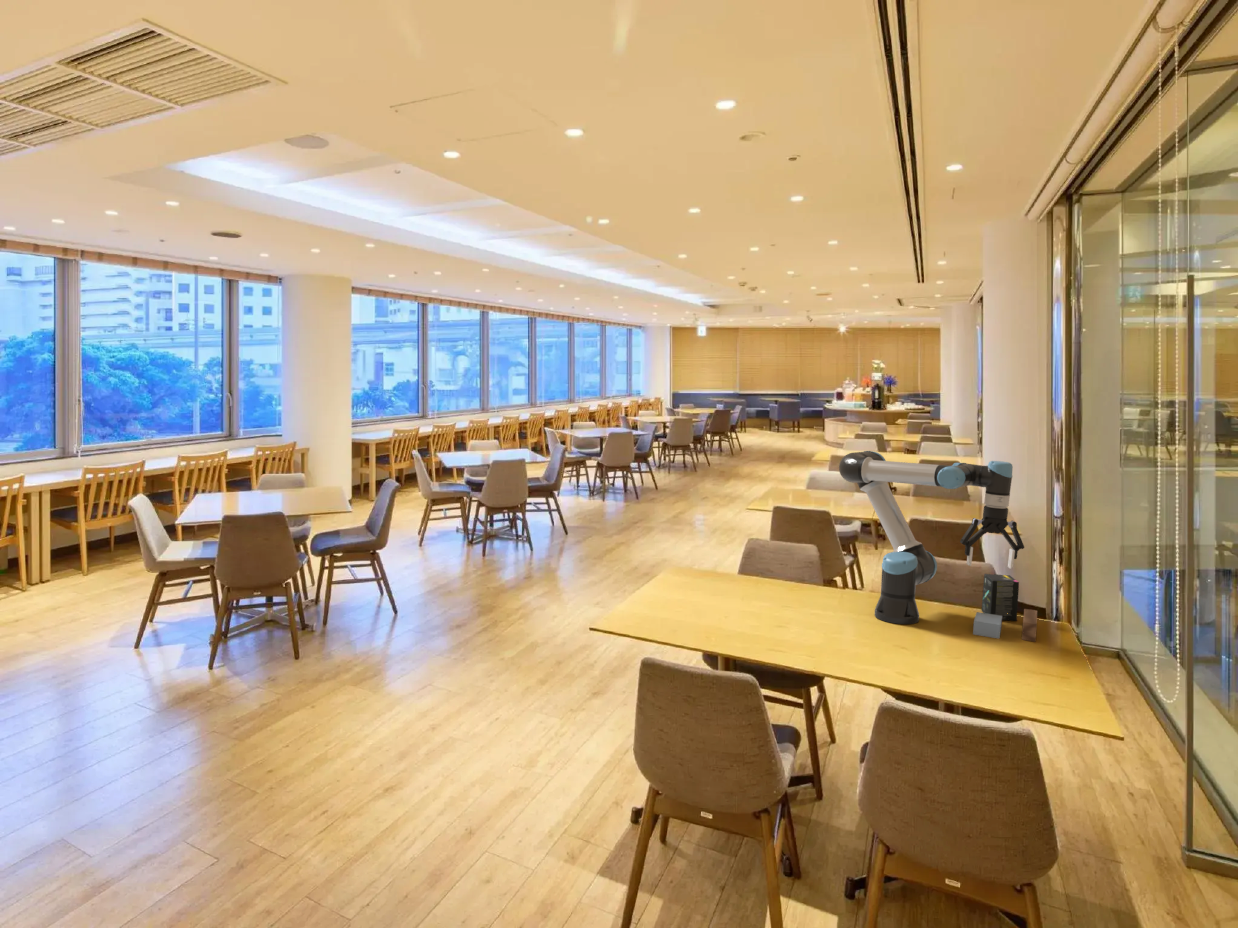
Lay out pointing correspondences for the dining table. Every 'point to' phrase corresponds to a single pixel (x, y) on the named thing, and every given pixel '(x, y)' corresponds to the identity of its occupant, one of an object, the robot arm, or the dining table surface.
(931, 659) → the dining table surface
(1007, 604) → the tampon box
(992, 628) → the block
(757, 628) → the dining table surface
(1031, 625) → the walnut board
